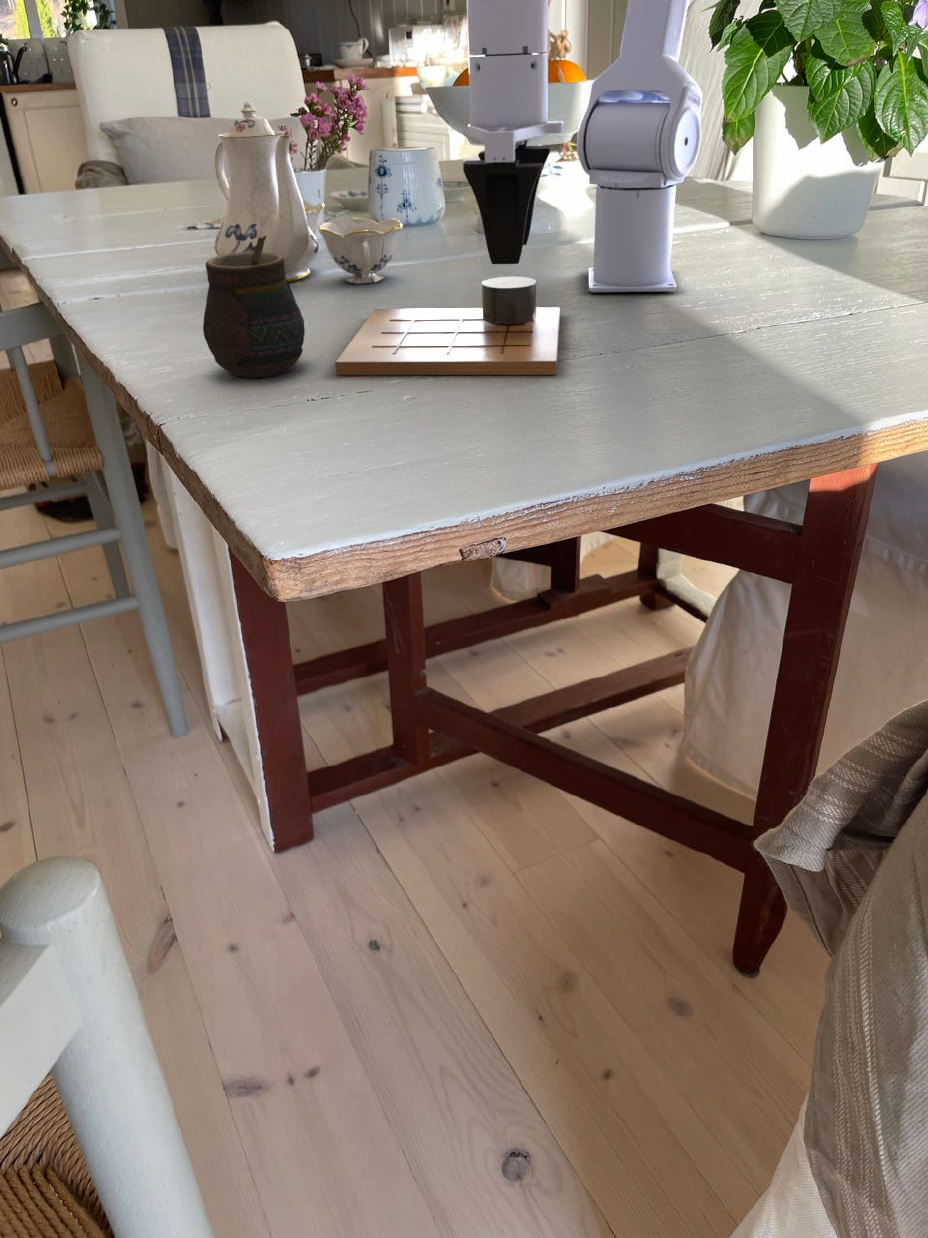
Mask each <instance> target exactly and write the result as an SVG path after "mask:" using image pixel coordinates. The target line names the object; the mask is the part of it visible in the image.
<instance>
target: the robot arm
mask: <svg viewBox="0 0 928 1238" xmlns="http://www.w3.org/2000/svg"><path fill="white" fill-rule="evenodd" d="M689 2H690V0H627V7H626V14H625V19H624V24H623V25H624V26H623V31H622V38H621V45H620V51H619V57H618V58H617V59H616V60H615V61H613V63H612V64H611V65H610V66H608V68H606V69H605V70H604V71H602V72H601V74H599V76H597V77H596V78H595V79H594V80H593V81H592V83H591V86H590V91H589V97H588V100H587V105H586V108H585V110H584V113H583V115H582V117H581V119H580V122H579V123H578V124H579V125H578V128H577V135H576V152H577V157H578V161H579V163H580V165H581V167H582V169H583V171H584V173H585V174H587V176H589V178H588V184H589V185H596V186H595V210H594V211H595V212H594V237H593V238H594V239H593V240H594V241H593V242H594V243H593V266H592V267H588V269H587V270H588V272H587V273H588V274H587V275H588V291H589V292H590V293H655V292H656V293H661V292H676V291H677V284H676V281H675V279H674V276H673V273H672V270H671V260H672V245H673V232H674V219H675V217H674V216H675V206H676V205H675V203H676V190H677V184H681V183H684V179H685V178H687V176H688V174H689V173H690V172H691V170H692V169H693V167H694V165H695V164H696V161H697V159H698V156H699V153H700V147H701V143H702V142H701V141H702V124H701V118H702V117H701V116H702V115H701V114H702V104H703V92H702V90H701V88H700V86H699V85H698V83H697V82H696V81H695V79H694V78H693V77H692V76H691V75H690V74H689V73H688V72H687V71H686V69H685V68H684V67H682V65H681V64H680V63H679V59H680V53H681V49H682V43H683V36H684V31H685V26H686V19H687V15H688V14H687V13H688V8H689ZM466 9H467V10H466V14H467V15H466V17H467V19H466V20H467V50H468V51H467V53H468V81H469V82H468V84H469V118H470V119H469V121H470V122H469V124H468V125H467V136H468V138H471V139H473V140H476V141H480V142H482V143H484V150H481V151H480V152H479V153H478V158H479V159H478V160H475V159H474V160H465V161H463V163H462V169H463V174H464V176H465V178H466V180H467V182H468V185H469V186H470V189H471V190H472V192H473V196H474V197H475V201H476V203H477V206H478V209H479V213H480V217H481V223H482V228H483V232H484V239H485V244H486V247H487V252H488V256H489V257H488V258H489V260H490V263H491V265H519V263H520V261H521V256H522V252H523V248H524V246H527V244H528V240H529V238H530V237H529V236H530V233H531V227H532V221H533V214H534V207H535V201H536V195H537V190H538V187H539V182H540V179H541V177H542V172H543V170H544V167H545V164H546V162H547V160H548V158H549V155H550V154H551V146H549V145H527V144H529V143H530V140H533V139H536V138H540V137H544V136H548V135H549V134H559V133H560V134H561V133H563V132H564V121H562V120H548V98H549V97H548V96H549V95H548V93H549V92H548V91H549V90H548V89H549V87H548V85H549V84H548V83H549V81H548V80H549V79H548V78H549V75H548V74H549V53H548V52H549V0H466Z"/></svg>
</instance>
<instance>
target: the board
mask: <svg viewBox="0 0 928 1238" xmlns="http://www.w3.org/2000/svg"><path fill="white" fill-rule="evenodd" d="M560 328H561V307H560V306H554V307H553V306H552V307H551V306H547V307H545V306H543V307H541V306H540V307H539V306H537V307H536V319H534V320H532V321H530V322H526V323H520V324H494V323H489V322H486V321H484V320H483V318H482V307H453V308H452V307H451V308H448V307H447V308H445V307H444V308H436V307H435V308H375V309H374V310H373V311H372V312H371V314H370V315H369V317H367V319H366V320H365V322H364V323H363V324H362V326H361V327H360V328H359V330H358V331H357V333H356V334H355V335H354V336H353V338H352V339H351V340H350V342H349V343H348V345H346V347H345V348H344V349H343V351H342V352H341V354H340V355H339V356H338V358H337V359H336V361H335V362H334V364H335V375H336V376H555V375H557V369H558V358H559V357H558V355H559V343H560V330H561V329H560Z"/></svg>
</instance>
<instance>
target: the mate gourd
mask: <svg viewBox="0 0 928 1238" xmlns="http://www.w3.org/2000/svg"><path fill="white" fill-rule="evenodd" d="M266 236H267V235H266ZM266 236H264V237H262V238H260V237H258V242H257V245H256V246H255V249H254V252H240V253H231V254H225V255H220V256H218V255H216V256H214V257H211V258H209V259H208V260H207V261H206V262H205V269H206V275H207V282H208V288H207V293H206V294H207V296H206V300H205V302H206V303H205V309H204V312H203V313H204V315H203V323H202V332H203V337H204V339H205V342H206V344H207V347H208V349H209V351H210V353H211V355H212V356H213V358H214V361H215V363H216V364H217V365H218V366H220V367H221V368H222V369H224V370H225V371H226V372H229V373H230V374H231V375H233V376H236V377H240V378H246V379H260V378H267V377H273V376H277V375H280V374H283V373H285V372H287V371H289V370H291V368H292V367H293V366H294V365H296V363H297V362H298V361H299V359H300V358H301V356H302V354H303V351H304V349H303V345H304V342H305V335H306V329H305V320H304V317H303V315H302V312H301V309H300V307H299V304H298V303H297V300H296V298H295V295H294V293H293V291H292V289H291V287H290V284H289V282H287V279H286V277H285V275H286V270H285V264H284V261H285V260H284V257H283V256H282V255H279V254H276V253H272V252H262V251H263V246H264V241H265V239H266Z"/></svg>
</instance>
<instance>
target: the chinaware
mask: <svg viewBox="0 0 928 1238" xmlns="http://www.w3.org/2000/svg"><path fill="white" fill-rule="evenodd" d="M240 112H241V114H242V116H240V117H238V118H236V119H235V120H234V122H233V124H232V127H231V130H230V132H225V133H220V134H218V135H217V137H219V139H220V143H219V144H218V145H217V147H216V150H215V156H214V167H215V175H216V179H217V183H218V186H219V188H220V190H221V192H222V195H223V196H224V197H225V200H227V206H226V209H225V210H226V211H225V214H224V217H223V220H222V223H221V225H220V227H219V230H218V232H217V235H216V238H215V241H214V245H213V246H214V251H215V254H216V256H220V255H225V254H231V253H240V252H254V249H255V246H256V245H257V242H258V237H260V238H262V237H264V236H266V235H267V236H266V239H265V241H264V246H263V251H262V252H272V253H276V254H279V255H282V256H283V257H284V260H285V261H284V264H285V270H286V275H285V277H286V279H287V282H288V283H289V282H295V281H299V280H302V279H304V278H307V277H308V276H310V274H311V270H310V269H309V266H310V265H311V263H312V262H313V260H314V259H315V258H316V256H317V254H318V252H319V247H320V246H319V242H318V240H317V237H316V236H315V235H316V232H317V229H318V232H319V234H320V235H321V236H322V238H323V240H324V243H325V245H326V249H327V252H328V254H329V256H330V258H331V259H332V260H333V262H334V263H335V264H336V265H337V266H338V267H339V268H340V269H341V270H343V271H344V272H346V273H348V274H351V275H352V276H350V277H348V278H346V280H345V282H349V283H353V284H358V285H359V284H368V283H369V284H370V283H377V282H379V281H381V280H383V279H384V277H383V276H382V275H379V274H377V273H378V272H380V271H381V270H383V269H384V268H386V267H387V265H388V264H389V263H390V262H391V260H392V258H393V256H394V254H395V251H396V247H397V242H398V237H399V234H400V232H401V231H402V229H403V227H404V225H403V224H402V223H401V221H400V220H399V219H397V218H396V217H388V218H385V219H383V220H379V221H378V222H376V221H374V220H372V219H370V218H367V217H359V216H355V217H351V218H346V219H345V220H343V221H342V222H340V223H337V224H336V223H332V222H329V221H326V222H323V221H322V222H320V223H319V217H320V213H321V211H322V210H324V209H325V207H326V205H325V204H324V202H319V203H317V204H316V205H313V204H312V203H311V202H309V201H307V200H303V198H302V195H301V192H300V190H299V186H298V183H297V180H296V176H295V173H294V169H293V167H292V162H291V158H290V144H291V140H292V135H287V134H286V135H285V132H286V130H285V131H283V130H272V128H271V126H270V124H269V122H268V121H267V120H266V119H265V118H264V117H262V116H259V115H256V113H257V109H256V108H255V107H254V106H253V104H252V103H251V102H250V101H248V100H246V101H245V102H244V103H243V107H242V109H241V110H240ZM225 156H226V161H227V168H228V169H227V170H228V176H229V183H228V180H227V176H226V171H225V164H224V163H225V161H224V159H225Z"/></svg>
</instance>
